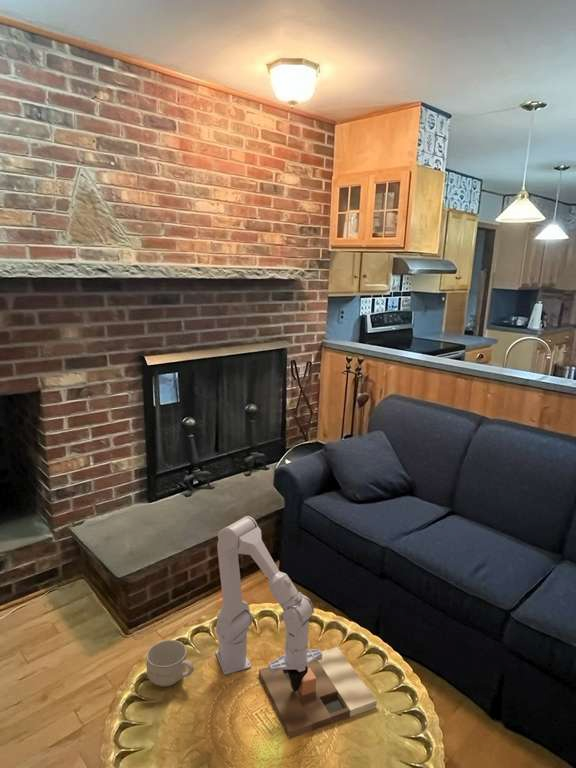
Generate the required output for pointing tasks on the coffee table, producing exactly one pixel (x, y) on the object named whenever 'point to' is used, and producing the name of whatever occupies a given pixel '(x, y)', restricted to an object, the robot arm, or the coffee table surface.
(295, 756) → the coffee table surface
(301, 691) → the block
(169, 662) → the teacup
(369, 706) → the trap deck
